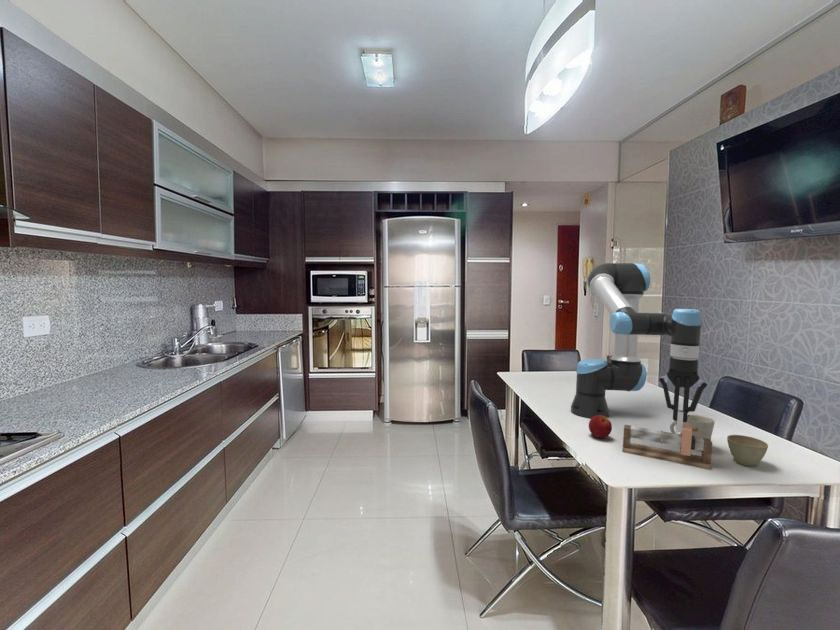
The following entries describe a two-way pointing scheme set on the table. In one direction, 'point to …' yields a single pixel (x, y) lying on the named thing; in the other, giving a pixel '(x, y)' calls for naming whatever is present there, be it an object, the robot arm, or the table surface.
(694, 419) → the mug
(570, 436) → the table surface
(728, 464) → the table surface
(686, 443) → the salmon pink flat block
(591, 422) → the apple
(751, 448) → the beige bowl
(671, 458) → the pipe stand
